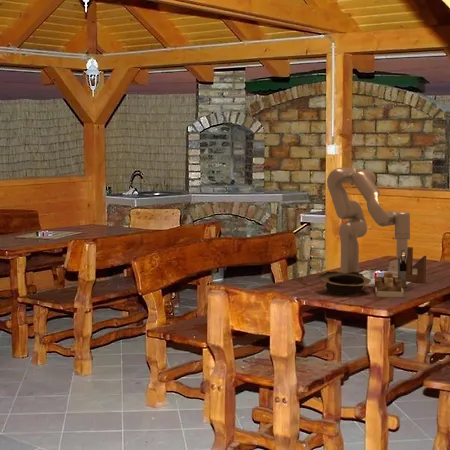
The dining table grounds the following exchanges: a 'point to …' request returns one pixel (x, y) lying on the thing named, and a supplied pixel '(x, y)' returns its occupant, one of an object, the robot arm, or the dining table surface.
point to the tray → (389, 293)
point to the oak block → (388, 275)
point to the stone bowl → (344, 282)
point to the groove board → (380, 287)
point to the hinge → (394, 268)
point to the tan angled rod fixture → (419, 266)
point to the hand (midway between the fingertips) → (402, 269)
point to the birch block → (388, 282)
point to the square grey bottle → (401, 274)
